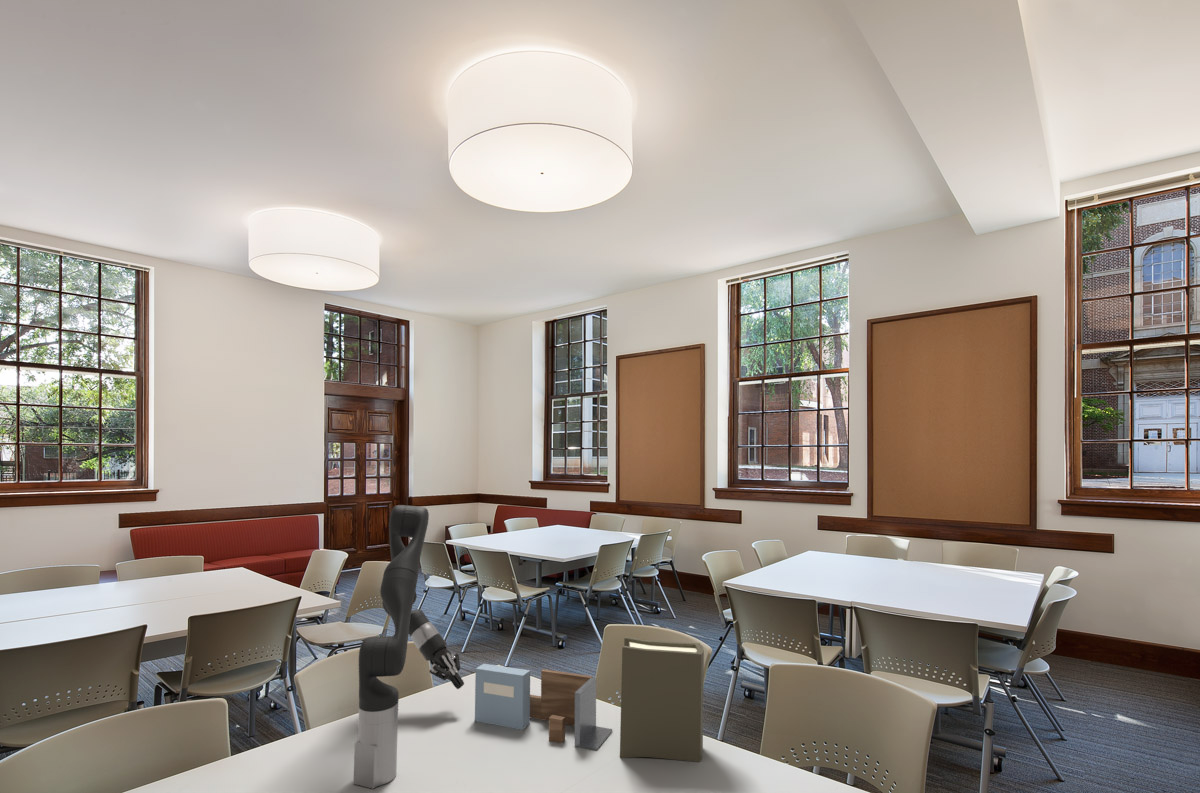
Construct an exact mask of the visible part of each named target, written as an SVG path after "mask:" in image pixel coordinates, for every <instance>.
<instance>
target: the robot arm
mask: <svg viewBox="0 0 1200 793" xmlns="http://www.w3.org/2000/svg"><path fill="white" fill-rule="evenodd" d="M429 515H430V514H429V510H428V508H426V507H423V506H416V505H404V504H398V505H394V507H393V508H392V509H391V512H390V515H389V516H390V517H389V521H388V532H389V535H388V536H389V538H388V539H389V552H390V561H389V563H387V566H386V567H385V569H384V572H383V575H382V579H381V585H380V589H379V591H380V592H379V593H380V597H381V600H382V601H381V602H382V603H381V605H382V607H383V608H382V609H384V612H385V613H386V614H387V615H388V616H390V617H391V620H392V622H393V625H394V634H393V635H392V636H391V635H390V636H389V635H388V636H387V635H386V636H371V637H370V636H368V637H365V638H364V639H363V640H362V641H361V644H360V647H359V650H358V651H359V652H358V723H357V724H358V728H357V729H358V730H357V741H355V743H354V754H353V755H354V757H353V758H354V759H353V782H352V783H353V784H354V785H356V786H357V785H358V786H360V787H364V788H369V789H375V788H377V787H380V786H383V785H385V784H387V783H390V782H391V781H393V780H394V779H395V778H396V775H397V766H398V763H397V762H398V761H397V759H398V758H397V757H398V727H399V701H400V700H399V696H400V695H399V691H398V689H397V688H396V687H395V686H392V685H390V684H387V683H384V681H382V680H380V679H379V678H378V677H380V678H381V677H395V676H399V675H400V674H402V671H403V670H404V668H405V664H406V658H407V651H408V640H409V636H410V638H411V640H412V643H414V645H415V647H416V648H417V649H418V651H419V652H420V653H421V655H422V657H424V659H425V661H426V662H429V663H430V665H431V668H430V669H429V673H430V674H432V675H433V676H434V677H437V678H439V679H441V680H442V681H446V680H448V681H450V682H451V684H452V685H453V686H454V688H456V690H460V689H461V688H462V687H463V686H464V685H465V681H464V680H463V679H462V677H461V676H460V674H459V671H460V670H461V662H460V654H458V652H457V653H455V654H453V653H452V652H451V651H450V650H449V649H448V648H447V644H448V643H447V642H446V640H445V639H444V638H443V636H442V635H441V634H440V632H439V631H438V629H437V627H435V626H434V624H433V623H431V621H430V619H429V618H428V617H427V616H426V613H424V612H423V610H422V609H420V608H418V609H414V610H413V605H414V604H415V602H416V601H417V597H418V596H417V591H416V590H417V585H418V584H417V583H418V580H419V579H418V576H419V571H420V564H421V555H422V551H423V546H424V543H425V538H426V534H427V530H428V525H429V520H430V519H429V517H430V516H429ZM402 537H404V538H405V537H406V538H411V540H409V543H408V544H407V545H406V546H405V545H404V543H403V541H402Z"/></svg>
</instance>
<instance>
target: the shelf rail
mask: <svg viewBox="0 0 1200 793" xmlns="http://www.w3.org/2000/svg"><path fill="white" fill-rule="evenodd" d="M540 674H541V675H540V680H541V681H540V682H541V683H540V695H537V694H530V719H536V720H541V721H548V741H550V742H556V743H559V744H560V743H561V744H562V743H564V742H565V740H566V725H570V726H575V692H576V691H577V690H578V689H579V688H580V687H581V686H583V685H584V684H585V683H586V682H587V681H588V680H589V679H590V678H591V677H592V678H594V677H593V675H587V674H586V675H585V674H578V673H572V672H565V671H559V670H553V669H546V668H543V669H541V673H540Z"/></svg>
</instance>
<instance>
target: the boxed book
mask: <svg viewBox="0 0 1200 793" xmlns="http://www.w3.org/2000/svg"><path fill="white" fill-rule="evenodd" d="M474 678H475V684H474V685H475V686H474V689H475V690H474V691H475V692H474V721H475V722H480V723H484V724H490V725H496V726H501V727H507V728H512V729H518V730H522V731H523V730H524V729H525V728H527V727H528V725H529V724H530V722H531V718H530V695H531V670H529V669H524V668H515V667H509V666H503V665H502V666H501V665H495V664H488V663H482V664H481V665H479V666H477V667H476V668H475V677H474Z"/></svg>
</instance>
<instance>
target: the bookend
mask: <svg viewBox="0 0 1200 793" xmlns="http://www.w3.org/2000/svg"><path fill="white" fill-rule="evenodd" d="M612 733H613V728H608V727H604V726H603V727H602V726H597V678H596V677H593V678H592V677H591V678H590V679H589V680H588V681H587V682H586V683H585V684H584V685H583V686H581V687H580V688H579V689H578V690H577V691H576V692H575V725H574V747H575V748H576V747H577V748H581V749H582V748H583V749H586V750H587V749H588V750H592V751H598V750H599V749H600V748H601V746H602V745H603V744H604V743H605V741H606V740H607V739H608V737H609V736H610V735H611V734H612Z"/></svg>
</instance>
